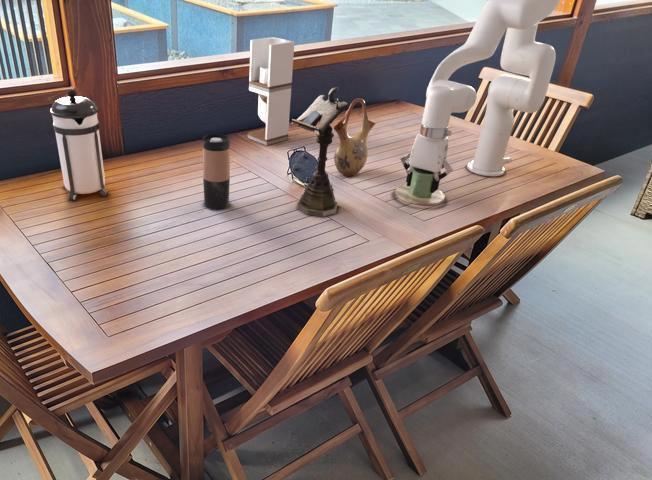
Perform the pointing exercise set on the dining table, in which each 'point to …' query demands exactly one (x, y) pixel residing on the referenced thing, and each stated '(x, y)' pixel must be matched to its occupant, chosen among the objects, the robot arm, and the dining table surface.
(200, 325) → the dining table surface
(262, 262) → the dining table surface
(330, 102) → the ornate book stand
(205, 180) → the travel mug
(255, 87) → the white dispenser tower
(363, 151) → the ceramic vessel
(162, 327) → the dining table surface
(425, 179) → the coffee cup on saucer
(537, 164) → the dining table surface
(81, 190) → the coffee press
